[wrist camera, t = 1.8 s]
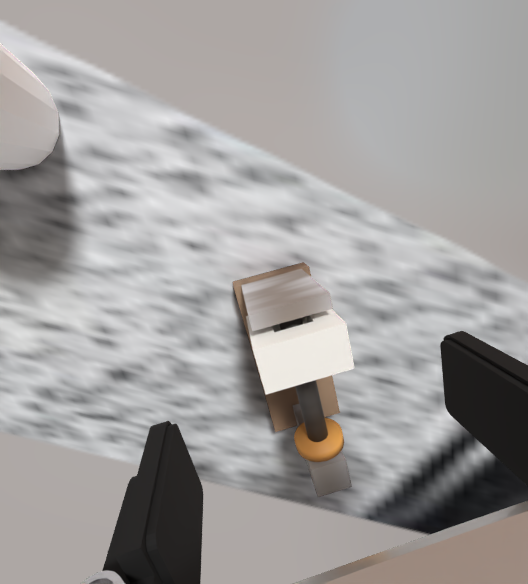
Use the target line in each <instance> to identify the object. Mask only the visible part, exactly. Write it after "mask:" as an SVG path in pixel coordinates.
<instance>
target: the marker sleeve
mask: <svg viewBox="0 0 528 584" xmlns="http://www.w3.org/2000/svg"><path fill="white" fill-rule="evenodd" d="M246 319H247V324H248V329H249V334H250V339H251V344H252V348H253V352H254V356H255V359H256V363H257V366H258V370H259V373H260V377H261V380H262V384H263V387H264V390H265V394H270V393H273V392H277V391H280V390H283V389H287V388H290V387H294V386H297V385H300V384H304V383H307V382H311V381H314V380H317V379H321V378H324V377H328V376H331V375H334V374H338V373H341V372H345V371H348V370H351V369H355V368H354V363H353V357H352V352H351V347H350V341H349V336H348V330H347V325H346V323H345V322H344V321H343V320H342V319H341V318H340V317H339V316H338V315H337V314H336V313H335V312H334V311H333V310H332V309H330V310H326V311H323V312H319V313H316V314H312V315H309V316H305V317H302V322H303V324H302V325H299V326H295V327H292V328H288V329H285V330H281V329H280V325H279V324H277V325H273V326H270V327H266V328H263V329H259V330H256V331H252V327H251V324H250V320H249V317H248V316H246Z"/></svg>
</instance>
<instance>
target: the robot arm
mask: <svg viewBox="0 0 528 584" xmlns="http://www.w3.org/2000/svg"><path fill="white" fill-rule="evenodd" d="M441 358H442V371H443V383H444V395H445V405H446V408H447V410H448V412H449V414H450V415H451V416H452V417H453V418H454V419H455V420H457V421H458V422H459V423H460V424H461V425H462V426H463V427H464V428H465V429H466V430H467V431H469V432H470V433H471V434H472V435H473V436H474V437H475V438H476V439H477V440H478V441H479V442H480V443H482V444H483V445H484V446H485V447H486V448H487V449H488V450H489V451H490V452H491V453H492V454H494V455H495V456H496V457H497V458H498V459H499V460H500V461H501V462H502V463H503V464H504V465H506V466H507V467H508V468H509V469H510V470H511V471H512V472H513V473H514V474H515V475H516V476H517V477H519V478H520V479H521V480H522V481H523V482H524V483H525V484H526V485H527V486H528V365H526V364H524V363H522V362H520V361H518V360H516V359H515V358H513V357H511V356H509V355H507V354H505V353H503V352H502V351H500V350H498V349H496V348H494V347H492V346H490V345H488V344H487V343H485V342H483V341H481V340H479V339H477V338H475V337H474V336H472V335H470V334H468V333H466V332H464V331H460V332H456V333H453V334H450V335H447V336H445V337H444V341H442V342H441ZM202 517H203V489H202V485H201V482H200V480H199V477H198V475H197V472H196V470H195V467H194V465H193V462H192V460H191V457H190V455H189V452H188V450H187V448H186V445H185V443H184V440H183V438H182V435H181V433H180V430H179V428H178V426H177V424H171V423H170V422H169V421H166V422H163V423H160V424H157V425H153V426H151V428H150V430H149V434H148V437H147V441H146V445H145V448H144V452H143V456H142V459H141V463H140V467H139V471H138V474H137V476H135V477H132V478H131V479H130V481H129V484H128V487H127V490H126V493H125V497H124V500H123V504H122V507H121V510H120V514H119V517H118V520H117V524H116V527H115V530H114V534H113V537H112V541H111V544H110V547H109V551H108V554H107V557H106V561H105V564H104V568H103V571H102V572H98V573H96V574H94V575H92V576H90V577H88V578H87V579H86V580H84V581H83V582H82V583H81V584H200V575H201V545H202ZM293 584H528V501H526V502H523V503H520V504H517V505H514V506H511V507H508V508H505V509H503V510H500V511H497V512H494V513H491V514H488V515H485V516H482V517H479V518H476V519H474V520H471V521H468V522H465V523H462V524H459V525H456V526H454V527H451V528H448V529H445V530H442V531H439V532H437V533H434V534H431V535H428V536H425V537H422V538H420V539H417V540H414V541H411V542H408V543H405V544H403V545H400V546H397V547H394V548H392V549H389V550H386V551H383V552H380V553H377V554H374V555H372V556H369V557H366V558H363V559H360V560H357V561H355V562H352V563H349V564H346V565H343V566H341V567H338V568H335V569H333V570H330V571H327V572H324V573H321V574H319V575H316V576H313V577H310V578H307V579H305V580H302V581H299V582H296V583H293Z"/></svg>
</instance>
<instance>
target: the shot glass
mask: <svg viewBox="0 0 528 584" xmlns="http://www.w3.org/2000/svg"><path fill="white" fill-rule="evenodd" d="M58 136H59V112H58V110H57V108H56V105H55V103H54V101H53V98H52V96H51V94H50V91H49V90H48V89H47V88H46V87H45V85H44V84H43V83H42V82H41V81H40V80H39V79H38V77H37V76H36V75H35V74H34V73H33V72H32V71H31V70H30V69H29V68H28V67H26V66H25V65H24V64H23V63H22V62H21V61H20V60H19V59H17V58H16V57H15V56H14V55H13V54H12V53H11V52H10V51H8V50H7V49H6V48H5V47H4V46H3V45H2V44H1V43H0V170H21V169H24V168H28V167H31V166H35V165H38V164H40V163H41V162H42V161H43V160H44V159H45V158H46V157H47V156H48V155H50V154H51V153H52V152H53V149H54V147H55V144H56V141H57V139H58Z"/></svg>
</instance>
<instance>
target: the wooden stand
mask: <svg viewBox="0 0 528 584" xmlns="http://www.w3.org/2000/svg"><path fill="white" fill-rule="evenodd" d="M233 286H234V290H235V294H236V297H237V301H238V304H239V308H240V311H241V315H242V318H243V321H244V325H245V328H246V332H247V335H248V339H249V342H250V346H251V349H252V353H253V356H254V352H253V348H252V344H251V339H250V334H249V329H248V324H247V319H246V316H248V317H249V320H250V324H251V327H252V331H256V330H259V329H263V328H266V327H270V326H273V325H277V324H279V325H280V329H281V330H285V329H288V328H292V327H295V326H299V325H302V324H303V322H302V317H305V316H309V315H312V314H316V313H319V312H323V311H326V310H330V309H333V306H332V301H331V296H330V293H329V292H328V291H327V290H326V289H325V288H323V287H322V286H321V285H320V284H319V283H318V282H316V281H315V280H314V279H313V278H312V277H311V274H310V269H309V266H307V265H306V264H305V263H304V262H303V263H299V264H296V265H292V266H288V267H285V268H281V269H277V270H274V271H270V272H267V273H263V274H259V275H256V276H252V277H248V278H245V279H241V280H237V281H234V282H233ZM254 359H255V356H254ZM255 363H256V359H255ZM256 366H257V363H256ZM257 370H258V366H257ZM258 373H259V370H258ZM259 377H260V373H259ZM260 380H261V377H260ZM261 384H262V380H261ZM262 387H263V384H262ZM263 390H264V387H263ZM264 394H265V390H264ZM265 397H266V401H267V404H268V408H269V411H270V415H271V418H272V422H273V425H274V428H275V432H277V431H281V430H284V429H287V428H291V427H294V426H297V425H298V428H297V430H296V432H295V435H294V439H295V444H296V447H297V450H298V452H299V454H300V455H301V456H302V457H303V458H305V459H306V462H307V465H308V468H309V471H310V474H311V477H312V480H313V483H314V486H315V490H316V493H317V496H318V497H320V496H324V495H327V494H330V493H333V492H336V491H340V490H343V489H346V488H349V487H352V486H351V481H350V477H349V472H348V467H347V463H346V459H345V457H344V455H343V453H342V451H341V450H342V448H343V445H344V439H343V434H342V429H341V427H340V426H339V424H338V423H337V422H335V421H334V420H332V419H329V418H325V417H327V416H331V415H334V414H337V413H340V411H339V406H338V401H337V397H336V392H335V387H334V383H333V378H332V375H331V376H328V377H324V378H321V379H317V380H314V381H311V382H307V383H304V384H300V385H297V386H294V387H290V388H287V389H283V390H280V391H277V392H273V393H270V394H265Z"/></svg>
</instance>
